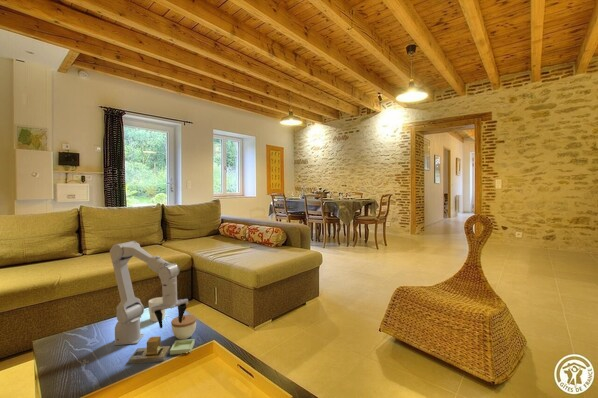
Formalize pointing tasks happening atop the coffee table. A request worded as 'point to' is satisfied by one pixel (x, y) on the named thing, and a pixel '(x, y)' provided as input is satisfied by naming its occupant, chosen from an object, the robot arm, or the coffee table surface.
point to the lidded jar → (184, 326)
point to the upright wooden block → (154, 346)
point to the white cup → (153, 303)
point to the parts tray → (182, 346)
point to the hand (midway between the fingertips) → (170, 324)
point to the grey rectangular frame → (141, 356)
